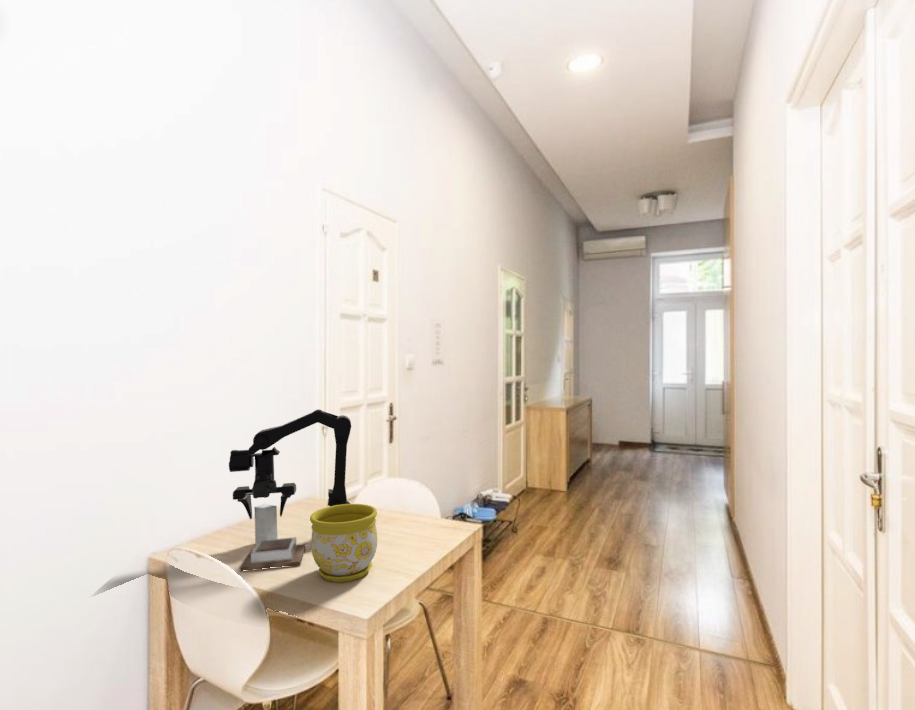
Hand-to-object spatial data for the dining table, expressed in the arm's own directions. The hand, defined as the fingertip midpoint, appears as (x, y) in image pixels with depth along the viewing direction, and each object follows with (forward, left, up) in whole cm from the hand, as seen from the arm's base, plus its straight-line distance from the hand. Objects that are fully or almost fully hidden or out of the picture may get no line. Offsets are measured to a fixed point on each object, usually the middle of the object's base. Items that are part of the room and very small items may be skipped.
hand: (266, 517), depth 165 cm
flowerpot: (-26, +30, -8) cm, 41 cm away
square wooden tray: (-5, +15, -8) cm, 18 cm away
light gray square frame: (-5, +15, -7) cm, 17 cm away
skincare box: (0, 0, -8) cm, 9 cm away
